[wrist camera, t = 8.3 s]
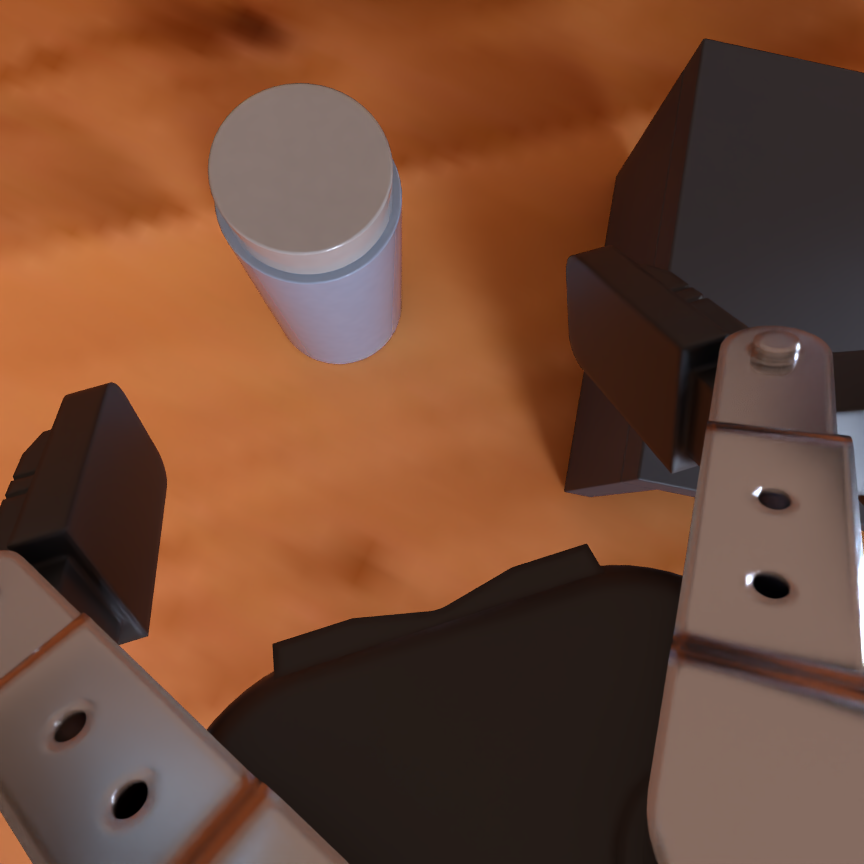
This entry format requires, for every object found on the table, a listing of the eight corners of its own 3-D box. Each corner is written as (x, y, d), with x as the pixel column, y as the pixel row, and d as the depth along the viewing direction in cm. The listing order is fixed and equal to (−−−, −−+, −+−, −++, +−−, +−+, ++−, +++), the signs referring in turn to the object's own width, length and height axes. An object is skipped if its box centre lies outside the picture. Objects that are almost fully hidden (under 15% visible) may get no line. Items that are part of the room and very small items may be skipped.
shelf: (616, 175, 24) (703, 36, 17) (976, 251, 24) (1205, 145, 17) (563, 491, 22) (637, 479, 15) (951, 569, 23) (1194, 591, 16)
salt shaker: (292, 233, 23) (224, 54, 14) (412, 258, 23) (419, 96, 14) (264, 350, 22) (174, 240, 14) (387, 375, 23) (379, 282, 14)
